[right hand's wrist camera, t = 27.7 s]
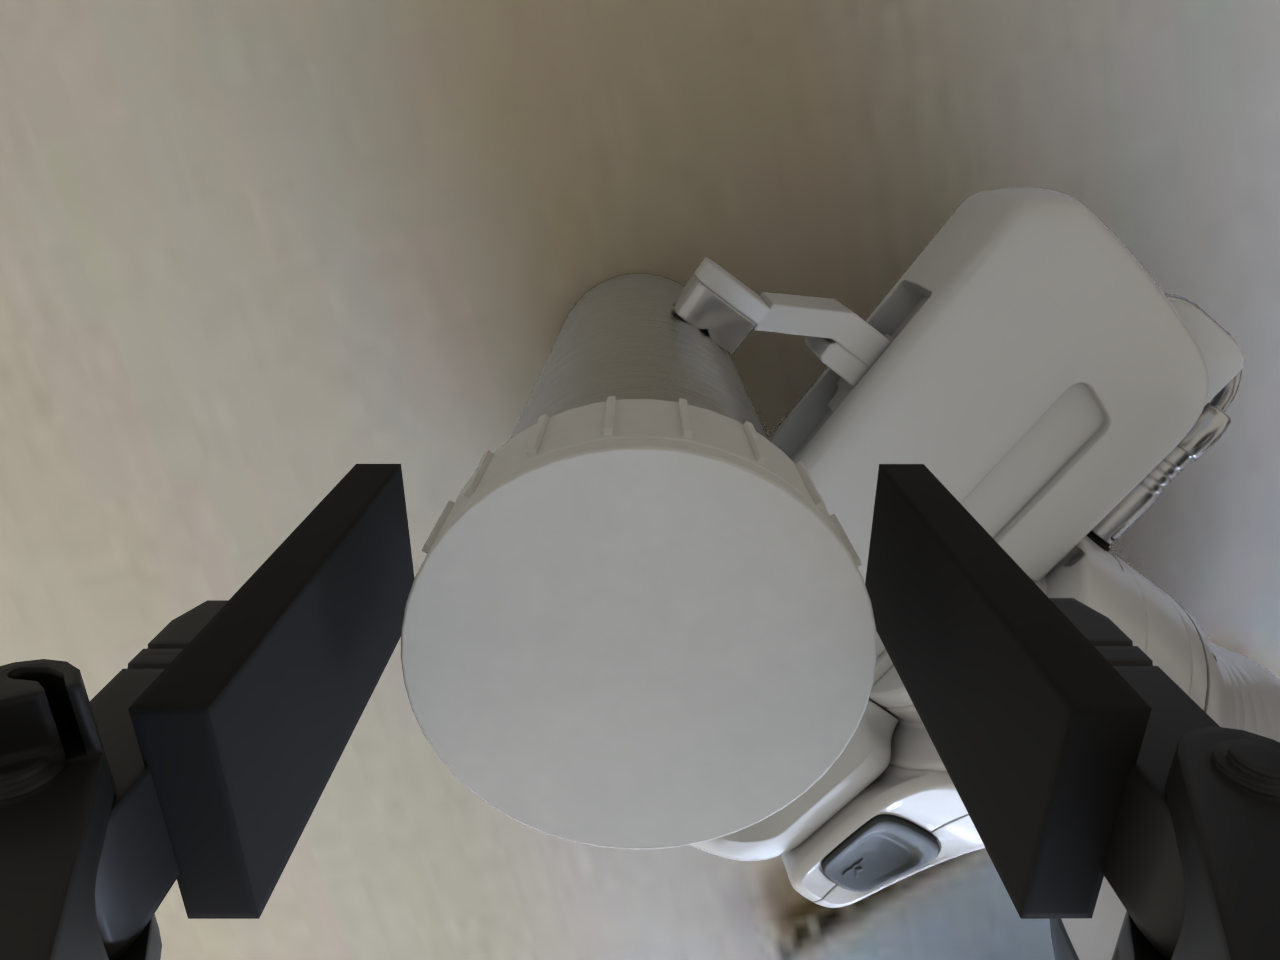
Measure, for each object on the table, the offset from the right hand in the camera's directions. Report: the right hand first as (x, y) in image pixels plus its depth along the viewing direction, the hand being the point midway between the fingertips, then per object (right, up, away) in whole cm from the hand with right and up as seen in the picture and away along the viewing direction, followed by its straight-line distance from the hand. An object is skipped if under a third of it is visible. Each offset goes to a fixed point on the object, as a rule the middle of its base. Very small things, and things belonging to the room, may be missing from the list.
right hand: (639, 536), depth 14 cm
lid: (0, -1, -3) cm, 4 cm away
